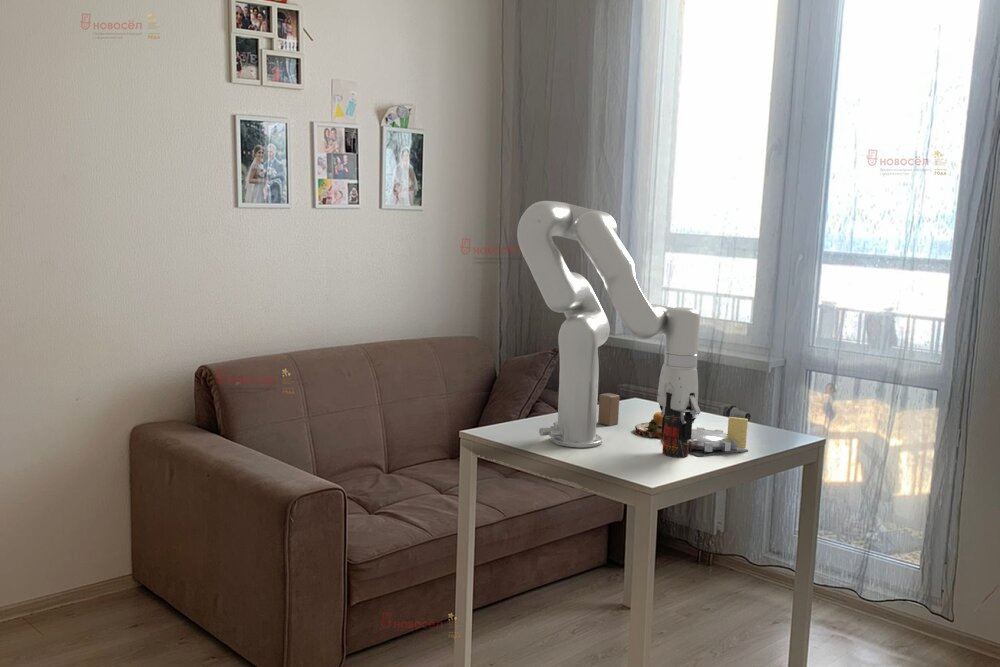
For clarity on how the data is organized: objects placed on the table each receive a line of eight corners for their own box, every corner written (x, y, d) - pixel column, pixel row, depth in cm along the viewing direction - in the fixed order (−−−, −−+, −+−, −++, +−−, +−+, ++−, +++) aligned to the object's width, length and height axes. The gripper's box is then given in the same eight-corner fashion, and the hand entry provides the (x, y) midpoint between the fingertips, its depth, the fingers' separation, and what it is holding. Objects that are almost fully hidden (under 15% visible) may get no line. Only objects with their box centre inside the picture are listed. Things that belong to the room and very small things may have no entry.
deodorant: (660, 450, 221) (664, 389, 219) (685, 451, 221) (689, 390, 219) (664, 457, 215) (667, 394, 213) (689, 458, 215) (693, 395, 213)
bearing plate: (695, 457, 216) (695, 454, 216) (657, 441, 229) (658, 439, 229) (748, 451, 223) (748, 449, 223) (709, 436, 236) (709, 434, 236)
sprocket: (664, 446, 222) (666, 416, 221) (678, 432, 236) (680, 404, 235) (740, 456, 215) (742, 426, 214) (750, 441, 230) (752, 413, 229)
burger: (674, 429, 245) (676, 401, 244) (686, 440, 233) (688, 411, 232) (630, 428, 244) (631, 400, 243) (640, 439, 232) (641, 410, 231)
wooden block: (618, 424, 247) (620, 395, 246) (608, 426, 244) (610, 396, 243) (607, 421, 250) (609, 392, 249) (597, 423, 247) (598, 394, 246)
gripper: (646, 355, 221) (642, 429, 223) (690, 367, 205) (685, 446, 208) (671, 354, 224) (667, 426, 226) (717, 366, 209) (712, 444, 211)
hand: (676, 435), depth 217 cm, fingers closed on deodorant, 5 cm apart
